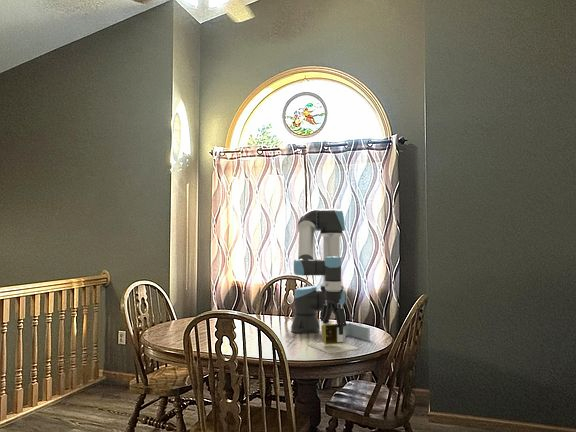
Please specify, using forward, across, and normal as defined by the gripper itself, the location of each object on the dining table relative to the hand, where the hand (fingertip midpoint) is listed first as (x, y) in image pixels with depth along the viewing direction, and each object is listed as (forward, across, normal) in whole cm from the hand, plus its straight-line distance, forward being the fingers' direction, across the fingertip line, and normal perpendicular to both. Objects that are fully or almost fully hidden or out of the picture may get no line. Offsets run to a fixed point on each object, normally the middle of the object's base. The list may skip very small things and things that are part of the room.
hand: (333, 339), depth 239 cm
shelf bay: (+3, -12, +16) cm, 20 cm away
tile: (+4, 0, 0) cm, 4 cm away
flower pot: (-3, -5, 0) cm, 6 cm away
